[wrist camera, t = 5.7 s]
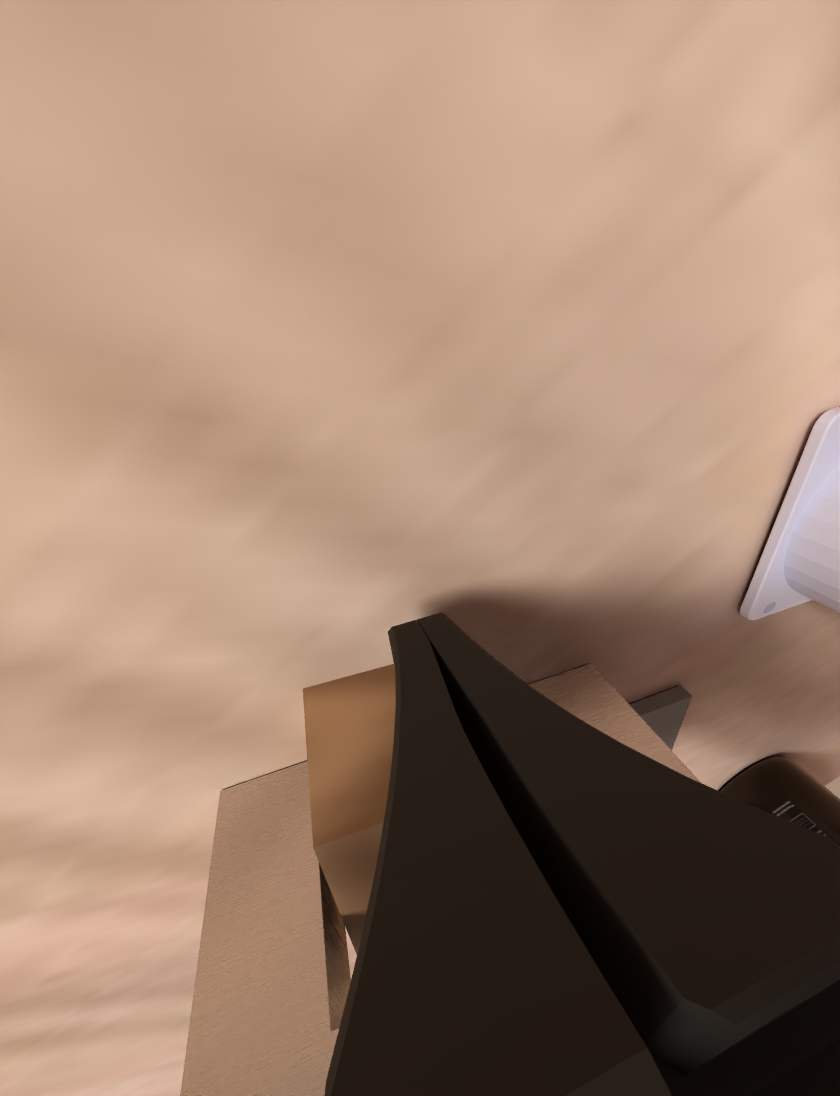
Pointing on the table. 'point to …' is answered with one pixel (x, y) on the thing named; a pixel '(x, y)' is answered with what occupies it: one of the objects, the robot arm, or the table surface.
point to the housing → (306, 922)
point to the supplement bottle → (788, 795)
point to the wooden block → (350, 782)
